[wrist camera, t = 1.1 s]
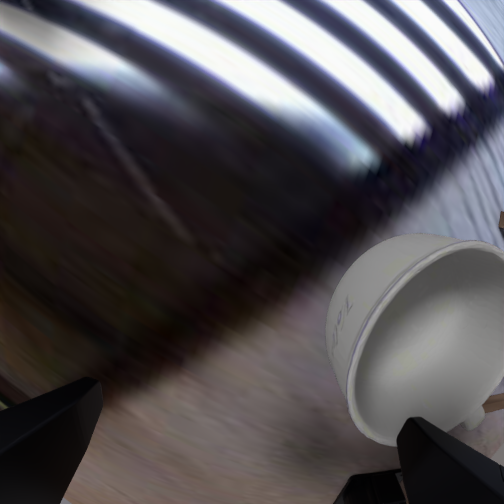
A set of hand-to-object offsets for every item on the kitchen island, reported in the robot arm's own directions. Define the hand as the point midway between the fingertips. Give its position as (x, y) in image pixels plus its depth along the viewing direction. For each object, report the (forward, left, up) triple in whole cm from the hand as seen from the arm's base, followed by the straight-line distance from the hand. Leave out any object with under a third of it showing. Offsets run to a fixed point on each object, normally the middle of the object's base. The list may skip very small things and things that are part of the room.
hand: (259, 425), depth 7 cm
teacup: (-1, -10, -12) cm, 15 cm away
